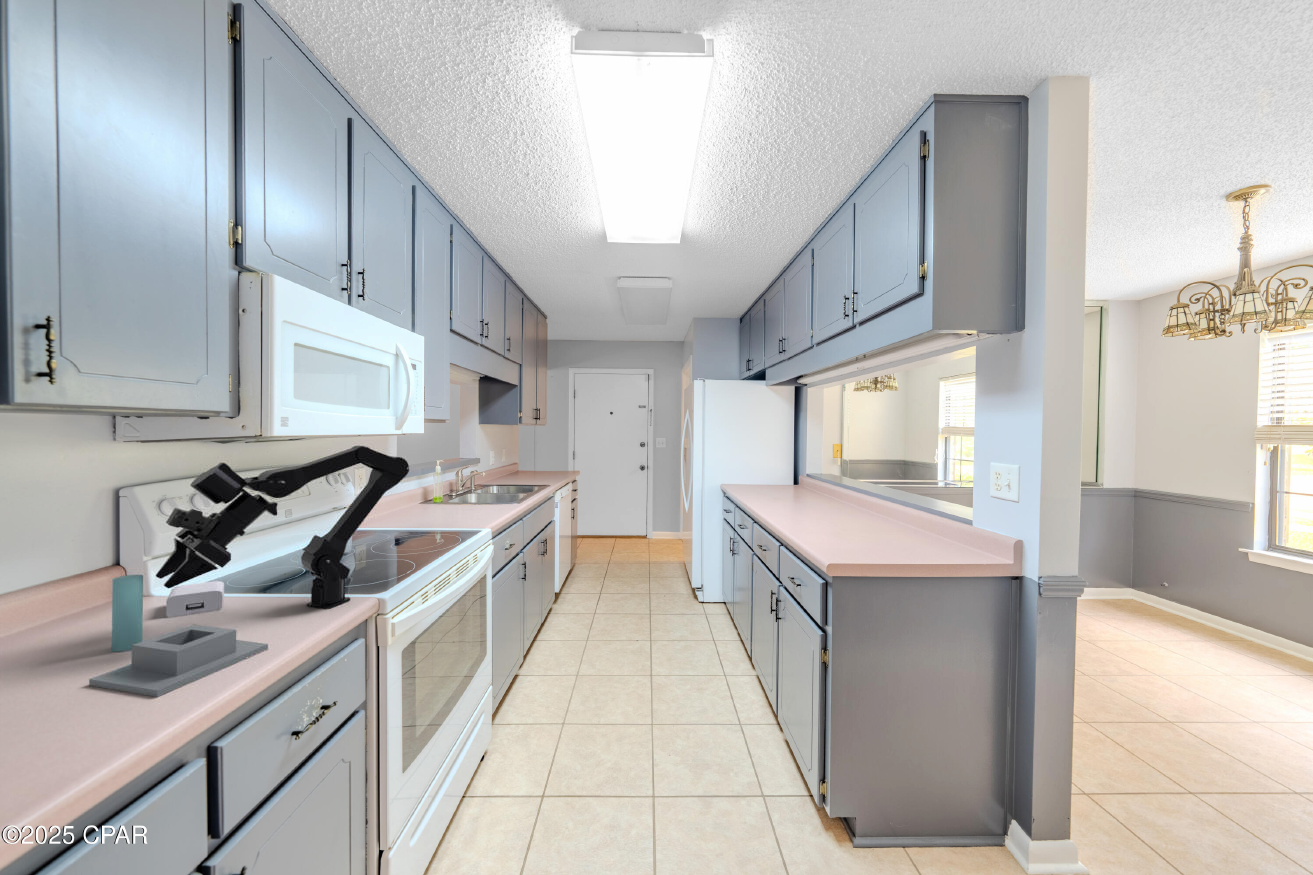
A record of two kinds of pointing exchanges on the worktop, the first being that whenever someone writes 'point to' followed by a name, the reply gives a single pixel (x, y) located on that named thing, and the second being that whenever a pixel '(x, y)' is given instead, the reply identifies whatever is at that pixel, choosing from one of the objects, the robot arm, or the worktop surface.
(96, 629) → the worktop surface
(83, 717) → the worktop surface
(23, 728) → the worktop surface
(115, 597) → the peg
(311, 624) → the worktop surface
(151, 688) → the socket holder
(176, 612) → the charger
